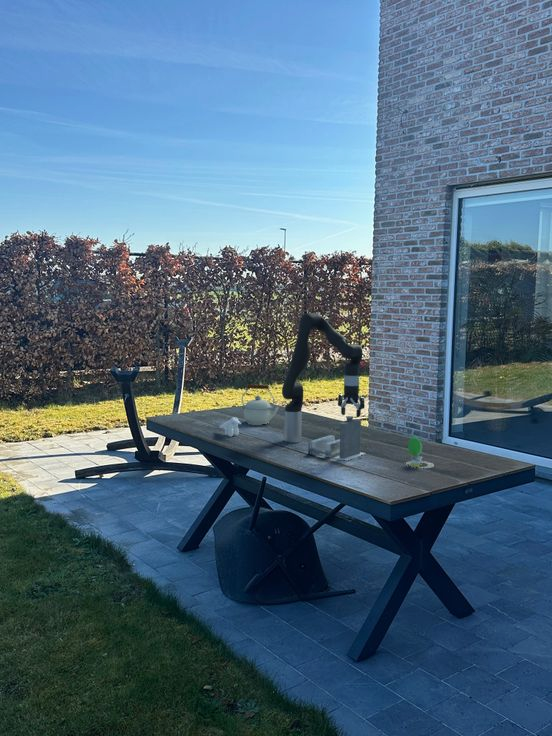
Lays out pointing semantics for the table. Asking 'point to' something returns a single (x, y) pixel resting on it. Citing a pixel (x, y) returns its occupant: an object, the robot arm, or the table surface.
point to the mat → (349, 456)
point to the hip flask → (350, 437)
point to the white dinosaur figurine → (231, 427)
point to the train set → (416, 453)
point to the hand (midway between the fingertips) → (350, 415)
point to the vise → (325, 446)
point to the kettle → (258, 408)
